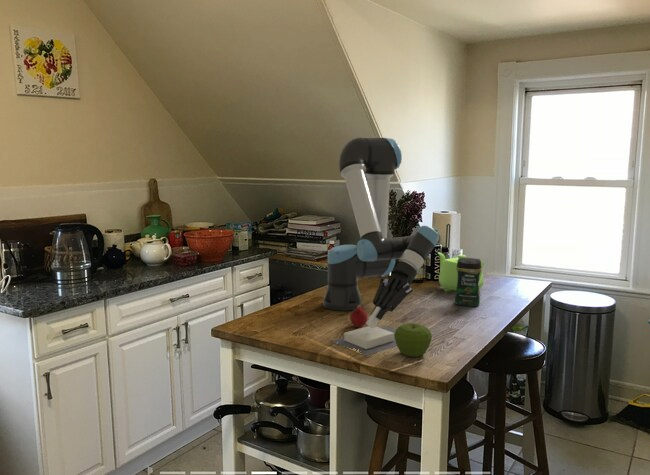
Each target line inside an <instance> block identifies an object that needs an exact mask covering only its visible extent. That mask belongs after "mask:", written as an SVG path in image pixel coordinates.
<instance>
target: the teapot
mask: <svg viewBox="0 0 650 475" xmlns="http://www.w3.org/2000/svg"><path fill="white" fill-rule="evenodd" d="M437 254H438V256H439V258H440V264H439V265H440V266H439V268H440V271H439V277H438V282H439V285H440V286H441V287H443V288H444V289H443V292H449V293H450V292H452V291H455V292H456V288H457V280H458V272H457V269H456V267H457V262H458V259H459V258H467V255H465V254H458V255H457V257H451V258H446V256H445V255H444V254H443V253H442V252H439V251H438V252H437ZM484 265H485V262H484V261H482V260H481V267H482V268H483V267H484ZM483 285H484V274H483V269H482V270H481V273H480V278H479V290H481V289H482V287H483Z"/></svg>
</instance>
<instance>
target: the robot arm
mask: <svg viewBox="0 0 650 475" xmlns="http://www.w3.org/2000/svg"><path fill="white" fill-rule="evenodd" d="M401 164H402V150H401V147H400V145H399V143H398V142H397V141H396V140H395V139H393V138H389V137H355V138H352V139H351V140H349V141H348V142H347V143H346V144H344V146H343V148H342V149H341V152H340V155H339V160H338V168H339V173H340V176H341V178H343V179H344V181H345V185H346V188H347V192H348V196H349V199H350V203H351V207H352V211H353V214H354V217H355V222H356V226H357V229H358V233H359V236H360V237H359V238H360V240H358V242H357V244H341V245H337V246H334V247H333V246H332V248H330V249H329V250H328V253H327V259H326V262H327V288H326V291H325V294H324V296H323V300H322V301H323V302H322V306H323V307H324V308H325V309H328V310H331V311H347V312H348V311H353V310H355V309H356V308H357V307H358V306H359V305H360V306H361V307H362V306H363V300H362V296H361V292H360V289H359V287H358V285H359V284H358V280H359V279H362V278H372V277H373V278H374V277H379V278H380V277H382V276H388V275H389V274H390V273H391V274H390V275H389V276H388V277H387V278H385V279H384V278H383V277H382V278H380V280H379V285H378V288H377V290H376V293H375V295H374V298H373V300H372V304H373V305H374V308H373V309H372V310H371V313H370V316H369V317H368V318H367V322H366V324H365V325H367V326H369V327H370V328H372V329H374V328H375V326H376V327H377V324H378V323H379V321H381V320H382V319H383V318H384V316H385V314H386V313H387V312H390V313H392V312H393V311H394V310H395V309H396V308H397V307H398V306H399V304H401V303H402V301H403V300H404V299H405V298H406V297H407V296H408V295H410V294H411V293H413V290H414V289H413V288H411V286H410V284H412V283H413V281H414V279H415V278H416V276H417V275H418V273H419V272H420V270H421V268H422V266H423V265H424V264H425V262H426V260H427V259H428V257H429V256H430V254H432V251H433V249H435V247H436V246H437V243H438V241H439V239H440V235H439V233H438V232H437V231H436V230H435V229H434V228H433V227H431V226H428V225H422V226H420V227H419V228H418V229H417V230H416V232H415V233H414V234H411V235H407V236H400V237H399V236H397V237H396V236H395V237H388V222H389V207H390V206H389V204H390V189H391V188H390V187H391V186H390V184H391V178H392V177H394V175H395V170H396V169H399V168H400V166H401ZM396 260H398V261H397V262H396Z"/></svg>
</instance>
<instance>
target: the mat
mask: <svg viewBox="0 0 650 475" xmlns="http://www.w3.org/2000/svg"><path fill="white" fill-rule="evenodd" d="M379 328H381V329H384V330H387V331H390V332H393V333H394V335H395V331H396V329H394V328H391V327H389V326H386V325H383V326H379ZM331 341H333V342H332V343H333V344H335V343H337V342H338V343H337V344H336V345H338V344H339V345H338V346H340V345H341V346H340V347H342V346H345V347H348V348H351V349H353V348H355V349H356V351H357V350H358V349H359V352H360V351H361V352H360V353H362V354H364V355H366V356H369V355H373V354H375V353H380V352H382V351H385V350H388V349H391V348H395V347H398V346H397V344H396V341H395V336H394V341H391V342H388V343H385V344H382V345H378V346H375V347H372V348H369V349H364V348H362V347H359V346H357V345H354V344H352V343H350V342H347V341H345V340H344V337H339V338H337V339H333V340H331ZM345 347H344V348H345ZM366 356H365V357H366Z"/></svg>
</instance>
